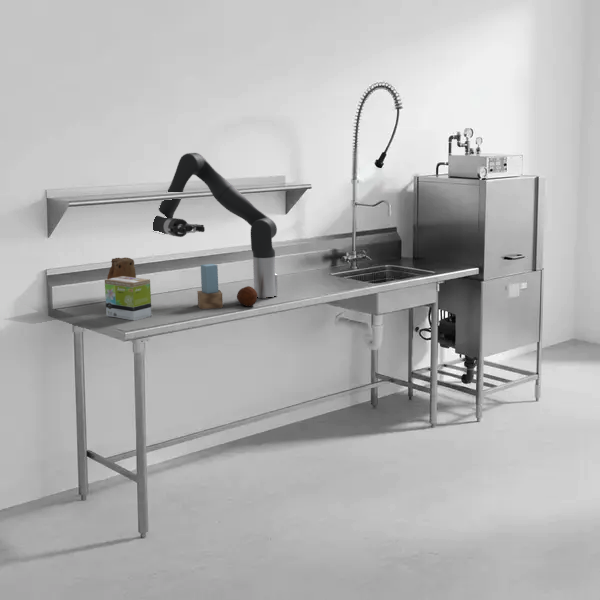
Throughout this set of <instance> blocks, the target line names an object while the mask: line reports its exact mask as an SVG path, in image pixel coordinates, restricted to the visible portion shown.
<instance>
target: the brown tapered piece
mask: <svg viewBox="0 0 600 600" xmlns="http://www.w3.org/2000/svg"><path fill="white" fill-rule="evenodd" d="M136 274H137V273H136V268H135V261H134V259H132V258H131V257H115V258H111V266H110V267H109V271H108V274H107V277H106V279H111V278H116V277H120V276H126V277H134V278H137V275H136Z"/></svg>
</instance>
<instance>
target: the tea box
mask: <svg viewBox="0 0 600 600" xmlns="http://www.w3.org/2000/svg"><path fill="white" fill-rule="evenodd" d="M104 291H105V309H106V310H105V313H106V317H110V318H111V317H112V318H117V319H118V318H119V319H124V320H129V321H133V320H135V321H138V320H142V319H146V318H150V317H152V297H151V296H152V295H151V294H152V292H151V279H149V278H148V279H147V278H141V277H136V278H134V277H126V276H120V277H116V278H111V279H107V278H106V279H104Z"/></svg>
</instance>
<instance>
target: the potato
mask: <svg viewBox="0 0 600 600" xmlns="http://www.w3.org/2000/svg"><path fill="white" fill-rule="evenodd" d="M236 300H237V302H238V303H240V304H242V305H243V306H245V307H252V306H253V305H255V304H256V302H257V300H258V298H257V292H256V290H255V289H254V287H252V286H249V285H247V286H245V287H242V288H240V289H239V291H238V292H237V295H236Z"/></svg>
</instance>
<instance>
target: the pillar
mask: <svg viewBox="0 0 600 600" xmlns="http://www.w3.org/2000/svg"><path fill="white" fill-rule="evenodd" d="M218 271H219V269H218V265H217V264H215V263H206V264H200V281H201V285H200V286H201V291H202V292H204V293H207V294H208V293H216V292H218V290H219V274H218V273H219V272H218Z"/></svg>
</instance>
